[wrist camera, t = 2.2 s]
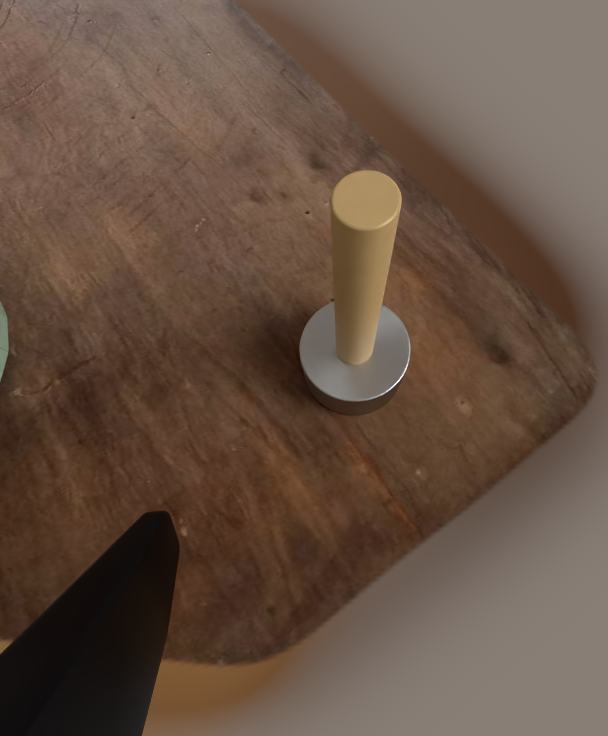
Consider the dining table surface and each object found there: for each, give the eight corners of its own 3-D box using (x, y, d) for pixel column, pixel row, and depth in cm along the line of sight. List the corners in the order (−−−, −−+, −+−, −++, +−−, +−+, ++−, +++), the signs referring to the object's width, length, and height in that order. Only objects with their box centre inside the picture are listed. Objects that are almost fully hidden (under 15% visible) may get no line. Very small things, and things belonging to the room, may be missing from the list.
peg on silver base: (414, 402, 22) (509, 264, 10) (316, 426, 22) (284, 320, 10) (386, 312, 23) (436, 92, 11) (294, 335, 23) (242, 140, 11)
